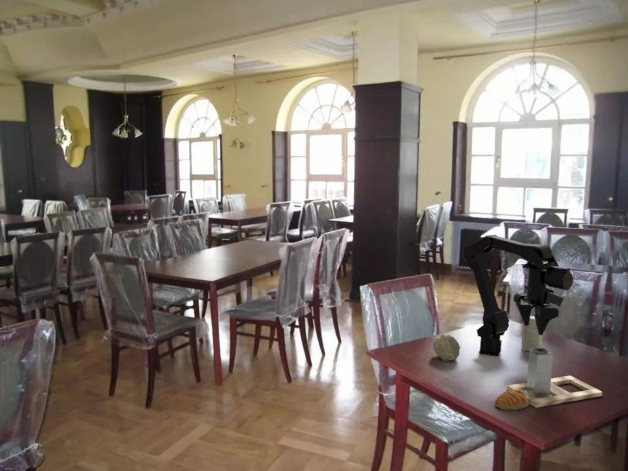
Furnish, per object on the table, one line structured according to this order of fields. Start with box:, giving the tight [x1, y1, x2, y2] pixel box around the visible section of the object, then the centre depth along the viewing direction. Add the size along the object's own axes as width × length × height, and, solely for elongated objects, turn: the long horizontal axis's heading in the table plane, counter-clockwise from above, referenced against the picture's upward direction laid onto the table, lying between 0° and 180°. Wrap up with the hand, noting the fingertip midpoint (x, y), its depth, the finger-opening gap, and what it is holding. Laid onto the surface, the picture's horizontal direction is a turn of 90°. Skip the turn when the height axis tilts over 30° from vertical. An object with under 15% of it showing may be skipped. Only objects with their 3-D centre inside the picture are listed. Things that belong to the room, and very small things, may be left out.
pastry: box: [494, 389, 530, 411], centre depth 144 cm, size 9×7×4 cm
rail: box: [506, 375, 603, 408], centre depth 152 cm, size 24×12×1 cm, turn 109°
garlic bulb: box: [432, 333, 461, 362], centre depth 177 cm, size 9×8×10 cm
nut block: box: [526, 347, 554, 398], centre depth 150 cm, size 5×5×14 cm
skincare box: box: [520, 315, 543, 352], centre depth 186 cm, size 6×4×12 cm
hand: (533, 330), depth 169 cm, fingers open, 9 cm apart
